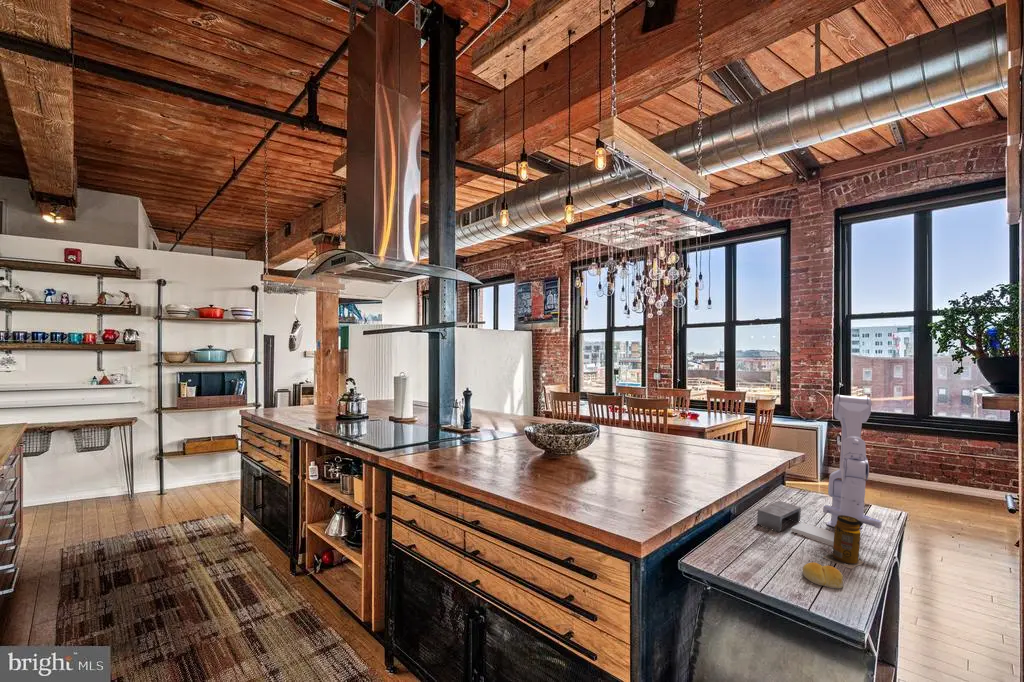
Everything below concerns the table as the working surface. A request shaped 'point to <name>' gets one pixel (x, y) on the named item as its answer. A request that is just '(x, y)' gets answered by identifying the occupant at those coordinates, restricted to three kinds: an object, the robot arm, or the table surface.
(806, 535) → the tile
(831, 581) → the bread roll
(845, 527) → the condiment
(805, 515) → the table surface
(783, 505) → the grey c-shaped bracket
